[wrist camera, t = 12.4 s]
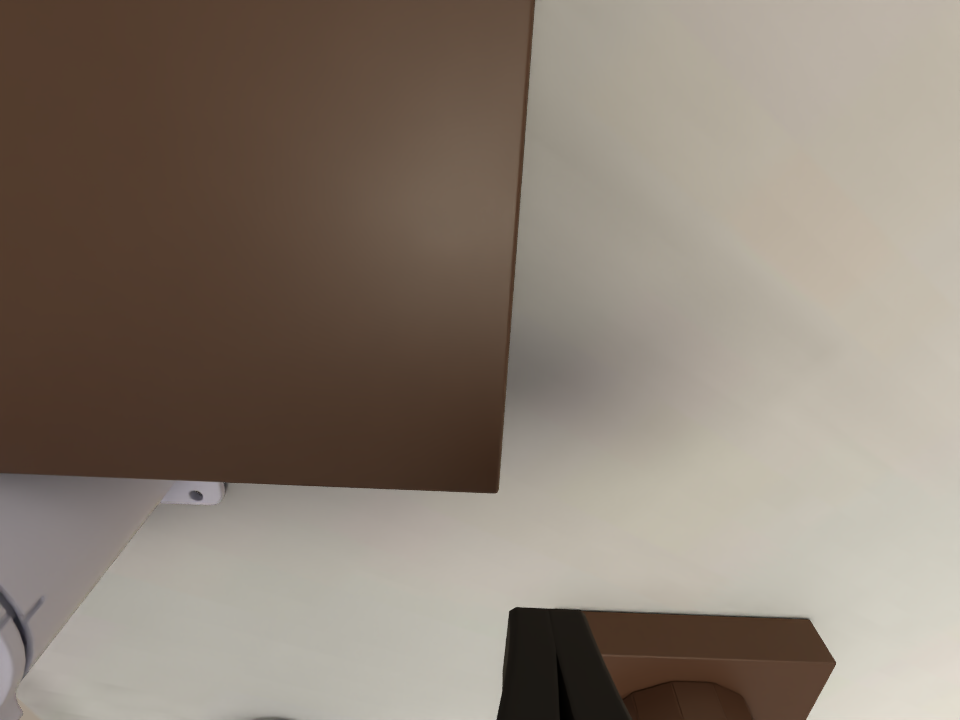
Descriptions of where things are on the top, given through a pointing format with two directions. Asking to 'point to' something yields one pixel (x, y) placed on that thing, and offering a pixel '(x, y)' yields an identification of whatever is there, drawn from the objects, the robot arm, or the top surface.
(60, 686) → the top surface
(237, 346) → the brown box lid
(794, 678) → the panel
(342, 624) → the top surface
